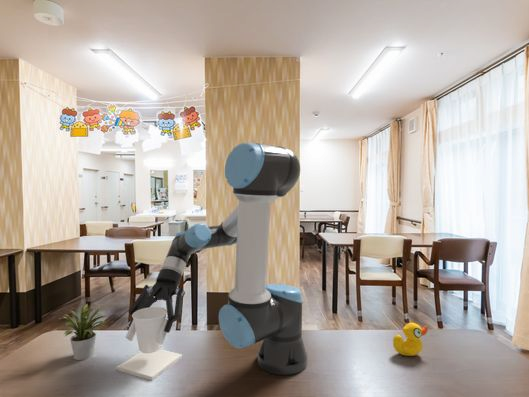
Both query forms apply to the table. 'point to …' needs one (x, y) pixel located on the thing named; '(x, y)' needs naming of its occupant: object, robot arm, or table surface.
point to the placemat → (149, 363)
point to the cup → (149, 327)
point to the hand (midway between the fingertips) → (143, 341)
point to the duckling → (410, 340)
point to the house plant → (83, 333)
